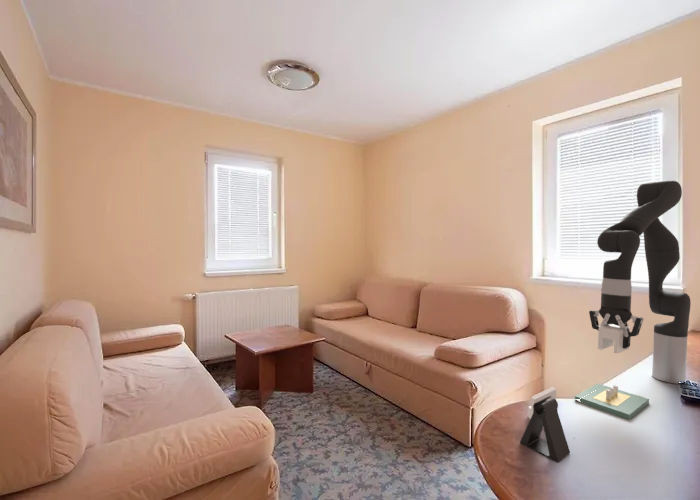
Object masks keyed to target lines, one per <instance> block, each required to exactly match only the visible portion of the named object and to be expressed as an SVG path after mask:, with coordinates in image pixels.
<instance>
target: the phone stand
mask: <svg viewBox="0 0 700 500" xmlns="http://www.w3.org/2000/svg"><path fill="white" fill-rule="evenodd" d="M549 398H550V397H546V398H544V399H542V400H540V401H538V402H536V403H534V405H533V415H532V417H531V419H530V418H529V422H528V423H527V426H526V427H525V430H524V432H523V434H522V436H521V439H520V441H519V444H520V445H523V446H525V447H526V448H528V449H530V450H532V451H534V452H536V453H538V454H540V455H542V456H544V457H546V458H548V459H550V460H551V461H554V462H555V463H558V462H560V461H561V460H563V459H564V458H566V457H567V456H568V455H570V454H571V451H570V447H569V445H568V441H567V438H566V434H565V432H564V429H563V425H562V422H561V419H560V415H559V412H558V408H559V404H558V403H559V402H558V401H557V399H556V400H555V399H554V398H553V399H551V400H549V401H547V399H549ZM546 401H547V402H546ZM542 430H543V432H544V436H545V439H542V438H541V435H542Z"/></svg>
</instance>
